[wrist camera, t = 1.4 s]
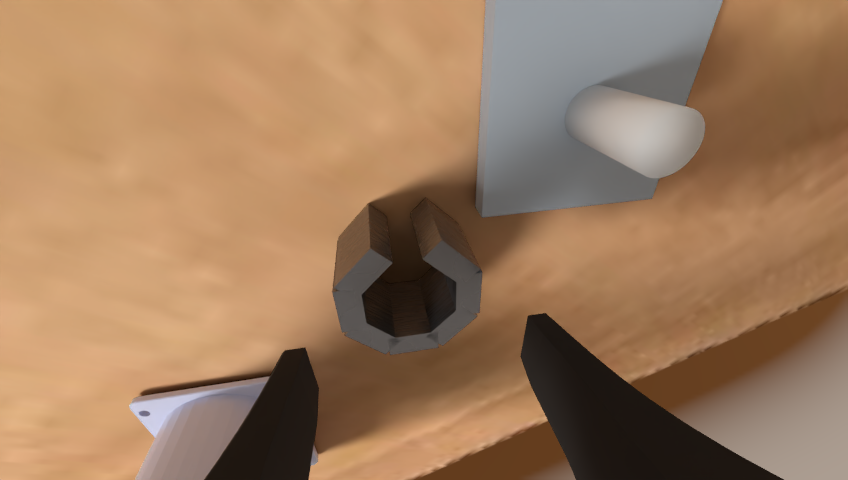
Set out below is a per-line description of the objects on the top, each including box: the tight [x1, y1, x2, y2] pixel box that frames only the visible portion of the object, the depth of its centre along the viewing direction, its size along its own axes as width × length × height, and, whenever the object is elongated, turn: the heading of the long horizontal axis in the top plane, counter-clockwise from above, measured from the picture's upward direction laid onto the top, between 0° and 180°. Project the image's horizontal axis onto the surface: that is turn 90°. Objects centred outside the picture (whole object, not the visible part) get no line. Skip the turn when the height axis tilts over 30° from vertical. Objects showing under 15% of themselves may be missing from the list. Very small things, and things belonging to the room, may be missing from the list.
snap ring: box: [332, 198, 482, 355], centre depth 15 cm, size 6×6×4 cm
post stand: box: [475, 0, 723, 218], centre depth 12 cm, size 8×8×5 cm
